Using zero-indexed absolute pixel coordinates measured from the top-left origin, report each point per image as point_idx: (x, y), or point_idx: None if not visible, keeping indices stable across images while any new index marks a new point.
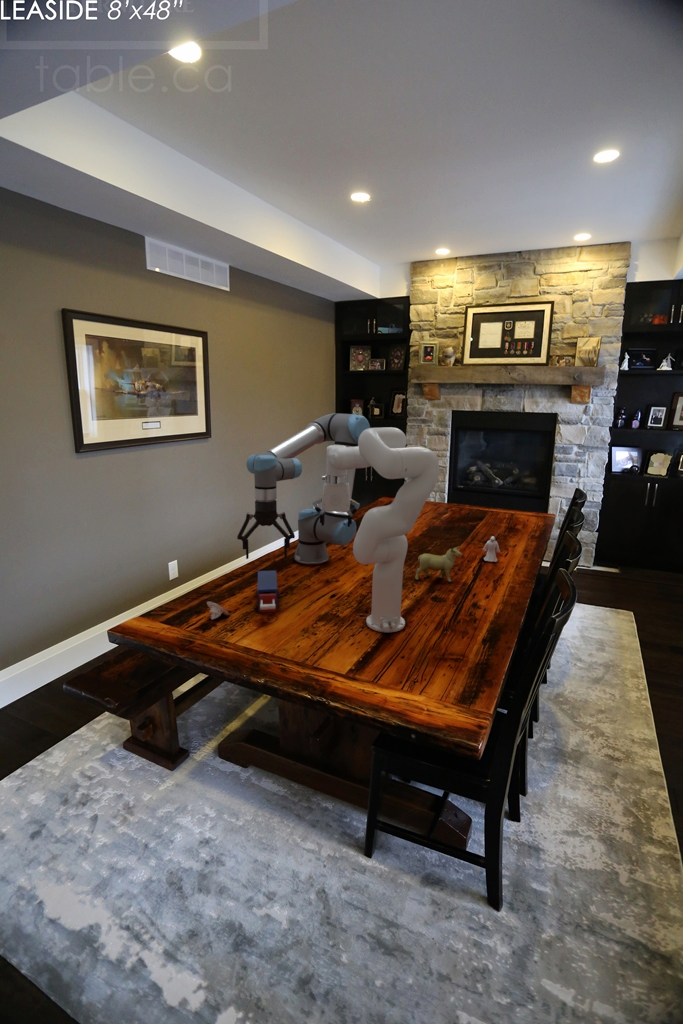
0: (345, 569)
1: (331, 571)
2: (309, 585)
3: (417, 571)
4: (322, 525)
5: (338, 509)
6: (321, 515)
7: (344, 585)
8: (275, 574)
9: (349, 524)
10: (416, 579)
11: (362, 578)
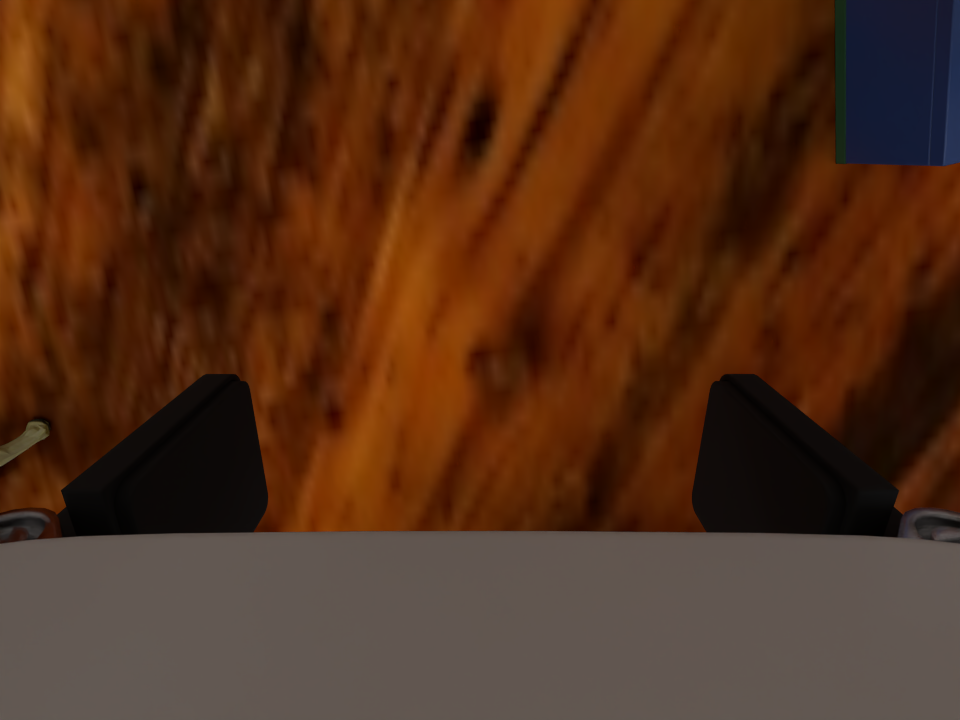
0: (450, 517)
1: (523, 483)
2: (634, 273)
3: (2, 451)
4: (733, 375)
5: (314, 586)
6: (879, 532)
7: (430, 300)
8: (957, 66)
9: (187, 389)
10: (40, 420)
11: (342, 411)
